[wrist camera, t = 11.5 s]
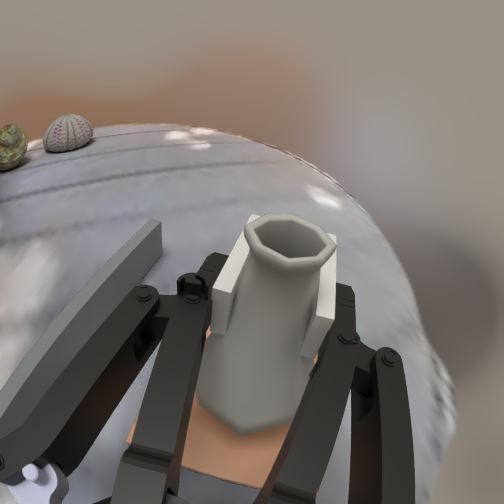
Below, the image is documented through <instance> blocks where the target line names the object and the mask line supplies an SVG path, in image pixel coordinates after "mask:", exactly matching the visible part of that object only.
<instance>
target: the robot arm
mask: <svg viewBox="0 0 504 504" xmlns="http://www.w3.org/2000/svg"><path fill="white" fill-rule="evenodd" d="M259 217H261V216H257V215H253V214H252V215H251V216H250V218H249V220H248V222H247V224H248V223H250V222H252V221H253V220H255V219H257V218H259ZM327 234H328V233H327ZM328 235H329V237H330V238H331V239H332V240H333V241H334V243H335V244H336V235H332V234H328ZM248 254H249V245H248V243H247V241H246V239H245V237H244V229H243V231H242V233H241V235H240V237H239V239H238V241H237V242H236V244H235V246H234V248H233V250H232V252H231V254H230V255H229V256H228V255H224V254H220V253H216V252H214V253H212V254H211V255H209V256H208V257H207V258H206V259H205V261H204V263H203V264H202V266H201V267H200V270H199V271H198V272H197V273H187V274H184V275H182V276H180V277H179V278H178V280H177V295H159V292H158V291H157V289H156V288H154V287H152V286H149V285H140V286H138V287H135V288H134V289H133V290H131V291H130V292H129V294H128V295H127V296H126V297H125V298H124V299H123V300H122V301H121V303H120V304H119V305H118V306H117V307H116V308H115V309H114V310H113V312H112V313H111V314H110V315H109V316H108V317H107V318H106V320H105V321H104V322H103V323H102V324H101V325H100V327H99V328H98V329H97V330H96V331H95V332H94V334H93V335H92V336H91V337H90V338H89V340H88V341H87V342H86V343H85V344H84V346H83V347H82V348H81V349H80V350H79V352H78V353H77V354H76V355H75V357H74V358H73V359H72V360H71V361H70V363H69V364H68V365H67V366H66V368H65V369H64V370H63V371H62V373H61V374H60V375H59V377H58V378H57V379H56V380H55V382H54V383H53V384H52V386H51V387H50V388H49V389H48V391H47V392H46V393H45V395H44V396H43V397H42V399H41V400H40V401H39V403H38V404H37V405H36V407H35V408H34V409H33V411H32V412H31V414H30V415H29V416H28V418H27V419H26V420H25V422H24V423H23V425H22V426H20V427H18V428H17V429H15V430H14V431H12V432H11V433H9V434H8V435H6V436H5V437H3V438H2V439H0V482H1V483H4V484H6V485H7V487H8V488H9V490H10V492H11V493H12V495H13V496H14V498H15V500H16V501H17V503H18V504H62V500H63V499H64V497H65V496H66V494H67V493H68V491H69V484H68V480H67V478H66V477H67V476H69V475H70V474H71V473H72V472H73V471H74V470H75V469H76V468H77V467H78V465H79V464H80V463H81V461H82V460H83V458H84V457H85V455H86V454H87V452H88V451H89V449H90V447H91V446H92V444H93V443H94V441H95V440H96V438H97V436H98V435H99V433H100V432H101V430H102V429H103V427H104V425H105V424H106V422H107V421H108V419H109V418H110V416H111V415H112V413H113V412H114V410H115V409H116V407H117V405H118V404H119V402H120V401H121V399H122V398H123V396H124V395H125V393H126V392H127V390H128V389H129V387H130V386H131V384H132V383H133V381H134V380H135V378H136V377H137V375H138V374H139V372H140V371H141V369H142V368H143V366H144V365H145V363H146V362H147V360H148V359H149V357H150V356H151V354H152V353H153V351H154V350H155V348H156V347H157V345H158V344H159V343H160V341H161V340H162V341H161V344H160V347H159V350H158V354H157V357H156V360H155V363H154V366H153V369H152V372H151V375H150V379H149V382H148V385H147V388H146V392H145V395H144V398H143V402H142V405H141V409H140V412H139V416H138V419H137V423H136V426H135V430H134V433H133V437H132V441H131V444H130V446H129V448H128V449H127V450H126V451H125V452H124V454H123V456H122V458H121V461H120V465H119V469H118V473H117V477H116V481H115V485H114V490H113V494H112V496H111V497H109V498H106V499H104V500H101V501H98V502H96V503H93V504H190V503H188V502H186V501H185V500H183V499H181V498H179V497H177V494H178V488H179V476H180V468H181V463H182V457H183V452H184V446H185V441H186V436H187V430H188V425H189V420H190V415H191V410H192V405H193V400H194V395H195V390H196V385H197V380H198V375H199V370H200V365H201V361H202V356H203V351H204V347H205V342H206V332H207V330H208V328H209V326H210V331H211V332H214V333H218V334H221V335H225V334H226V330H227V326H228V322H229V318H230V314H231V310H232V306H233V301H234V297H235V295H236V293H237V290H238V288H239V285H240V283H241V281H242V278H243V276H244V273H245V270H246V265H247V260H248ZM317 353H318V356H317V361H316V363H315V365H314V367H313V369H312V370H311V372H310V374H309V376H310V378H309V381H308V383H307V386H306V388H305V391H304V394H303V396H302V399H301V401H300V404H299V406H298V409H297V411H296V414H295V416H294V419H293V421H292V424H291V426H290V428H289V431H288V433H287V435H286V438H285V440H284V442H283V445H282V447H281V449H280V451H279V453H278V456H277V458H276V460H275V462H274V464H273V466H272V469H271V471H270V473H269V475H268V477H267V479H266V481H265V483H264V485H263V487H262V489H261V491H260V493H259V495H258V496H257V498H256V499H255V501H254V502H253V504H316V503H315V497H316V494H317V492H318V489H319V487H320V484H321V481H322V479H323V476H324V473H325V471H326V468H327V465H328V462H329V459H330V456H331V453H332V450H333V447H334V444H335V441H336V438H337V434H338V431H339V428H340V425H341V421H342V418H343V414H344V411H345V407H346V403H347V399H348V396H349V392H350V389H351V462H350V482H349V496H348V504H415V469H414V451H413V438H412V427H411V417H410V409H409V401H408V394H407V387H406V380H405V374H404V368H403V362H402V359H401V356H400V355H399V354H398V353H397V352H396V351H395V350H393V349H392V348H388V347H382V348H380V349H378V351H375V350H373V349H371V348H369V347H368V346H366V345H364V344H363V343H362V342H361V341H360V337H359V335H358V333H357V332H356V315H355V294H354V292H353V290H352V288H351V286H347V285H343V284H339V283H336V250H335V252H334V253H333V255H332V256H331V257H330V258H329V259H328V261H327V262H326V263H325V264H324V265H323V266H322V267H321V268H320V272H319V275H318V278H317V281H316V284H315V287H314V296H313V304H312V311H311V316H310V319H309V323H308V326H307V330H306V333H305V337H304V340H303V344H302V347H301V350H300V356H304V357H309V358H313V359H315V357H316V355H317Z"/></svg>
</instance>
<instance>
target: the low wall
mask: <svg viewBox="0 0 504 504" xmlns="http://www.w3.org/2000/svg"><path fill="white" fill-rule="evenodd" d="M161 255H162V230H161V221H158V220H154V219H150V220H149V221H148V222H147V223H146V224H145V225H144V226H143V227H142V228H141V229H140V230H139V231H138V232H137V233H135V234H134V235H133V236H132V237H131V238H130V239H129V240H128V241H127V242H126V243H125V244H124V245H123V246H122V247H121V248H120V249H119V250H118V251H117V252H116V253H115V254H114V255H113V256H112V257H111V258H110V259H109V260H108V261H107V263H106V264H105V265H104V266H103V267H102V268H101V269H100V270H99V271H98V272H97V273H96V274H95V275H94V276H93V277H92V278H91V279H90V280H89V282H88V283H87V284H86V285H85V286H84V287H83V288H82V289H81V290H80V291H79V292H78V294H77V295H76V296H75V297H74V298H73V299H72V300H71V301H70V303H69V304H68V305H67V306H66V307H65V308H64V309H63V311H62V312H61V313H60V314H59V315H58V316H57V318H56V319H55V320H54V321H53V322H52V324H51V325H50V326H49V327H48V328H47V330H46V331H45V332H44V333H43V335H42V336H41V337H40V338H39V340H38V341H37V342H36V343H35V345H34V346H33V347H32V348H31V350H30V351H29V352H28V354H27V355H26V356H25V357H24V359H23V360H22V361H21V363H20V364H19V365H18V367H17V368H16V370H15V371H14V372H13V374H12V375H11V376H10V378H9V379H8V381H7V382H6V383H5V385H4V386H3V388H2V389H1V391H0V439H2V438H3V437H5V436H6V435H8V434H9V433H11V432H12V431H14V430H15V429H17V428H18V427H20V426H22V425H23V423H24V422H25V420H26V419H27V418H28V416H29V415H30V414H31V412H32V411H33V409H34V408H35V407H36V405H37V404H38V403H39V401H40V400H41V399H42V397H43V396H44V395H45V393H46V392H47V391H48V389H49V388H50V387H51V386H52V384H53V383H54V382H55V380H56V379H57V378H58V377H59V375H60V374H61V373H62V371H63V370H64V369H65V368H66V366H67V365H68V364H69V363H70V361H71V360H72V359H73V358H74V357H75V355H76V354H77V353H78V352H79V350H80V349H81V348H82V347H83V346H84V344H85V343H86V342H87V341H88V340H89V338H90V337H91V336H92V335H93V334H94V332H95V331H96V330H97V329H98V328H99V327H100V325H101V324H102V323H103V322H104V321H105V320H106V318H107V317H108V316H109V315H110V314H111V313H112V312H113V310H114V309H115V308H116V307H117V306H118V305H119V304H120V303H121V301H122V300H123V299H124V298H125V297H126V296H127V295H128V294H129V292H130V291H131V290H133V289H134V288H135V287H136V286H137V285H138V284H139V282H140V281H141V280H142V279H143V277H144V276H145V275H146V274H147V272H148V271H149V270H150V269H151V267H152V266H153V265H154V264H155V262H156V261H157V260H158V259H159V258H160V256H161Z"/></svg>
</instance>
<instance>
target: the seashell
mask: <svg viewBox="0 0 504 504" xmlns="http://www.w3.org/2000/svg"><path fill="white" fill-rule="evenodd" d="M27 146H28V145H27V136H26V134H25V132H24V131H23V130H22V129H21V128H20V127H18V126H17V125H15V124H11V125H6V126H5V127H3V128H2V130H1V131H0V170H9V169H11V168H13V167H15V166H16V165H18V164H19V163H20V161H21V160H22V159H23V157H24V155H25V153H26V150H27Z"/></svg>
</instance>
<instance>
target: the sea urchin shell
mask: <svg viewBox="0 0 504 504" xmlns="http://www.w3.org/2000/svg"><path fill="white" fill-rule="evenodd" d="M92 134H93V129H92V126H91V125H90V124H89V122H88V121H87V120H86V119H85V118H83V117H81V116H79V115H75V114H68V115H64V116H61V117H59V118H58V119H56V120H55V121H54V122H53V123H52V124H51V125H50V126H49V128H48V129H47V131H46V133H45V135H44V136H43V146H44V147H45V149H47V151H48V150H49V151H53V152H58V151H62V152H63V151H66V150H73V149H75V148H79V147H81V146H83V145H86V143H87V142H89V140H90V139H91V137H92V136H93V135H92Z"/></svg>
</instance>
